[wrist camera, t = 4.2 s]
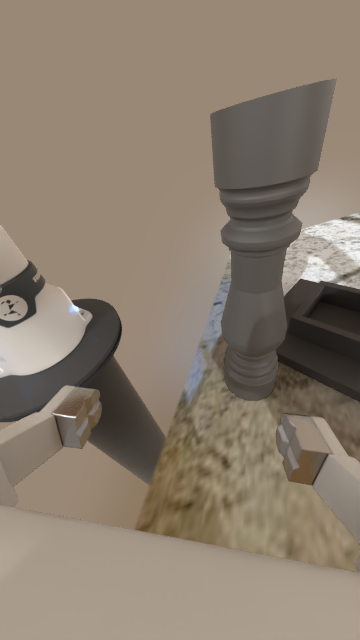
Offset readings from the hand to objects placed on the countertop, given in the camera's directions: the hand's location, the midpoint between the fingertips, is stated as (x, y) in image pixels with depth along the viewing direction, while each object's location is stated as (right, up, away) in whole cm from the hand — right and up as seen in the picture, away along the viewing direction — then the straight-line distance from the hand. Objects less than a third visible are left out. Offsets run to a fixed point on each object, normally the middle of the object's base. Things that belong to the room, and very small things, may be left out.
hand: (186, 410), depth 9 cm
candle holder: (+9, -4, +17) cm, 20 cm away
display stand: (+22, +2, +20) cm, 30 cm away
